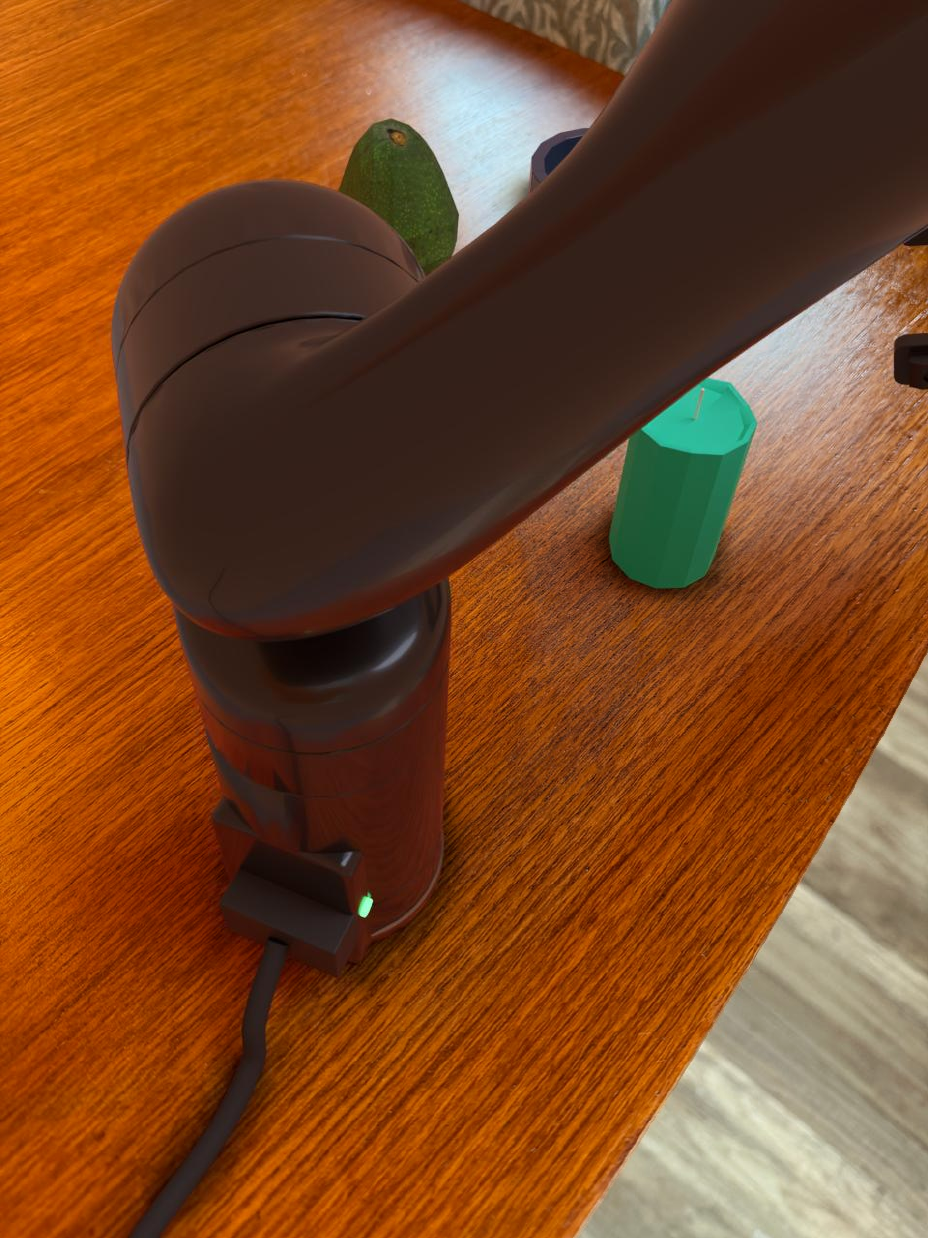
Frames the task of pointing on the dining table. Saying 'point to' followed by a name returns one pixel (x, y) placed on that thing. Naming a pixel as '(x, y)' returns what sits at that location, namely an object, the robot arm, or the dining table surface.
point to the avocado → (404, 189)
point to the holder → (552, 155)
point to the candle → (681, 486)
